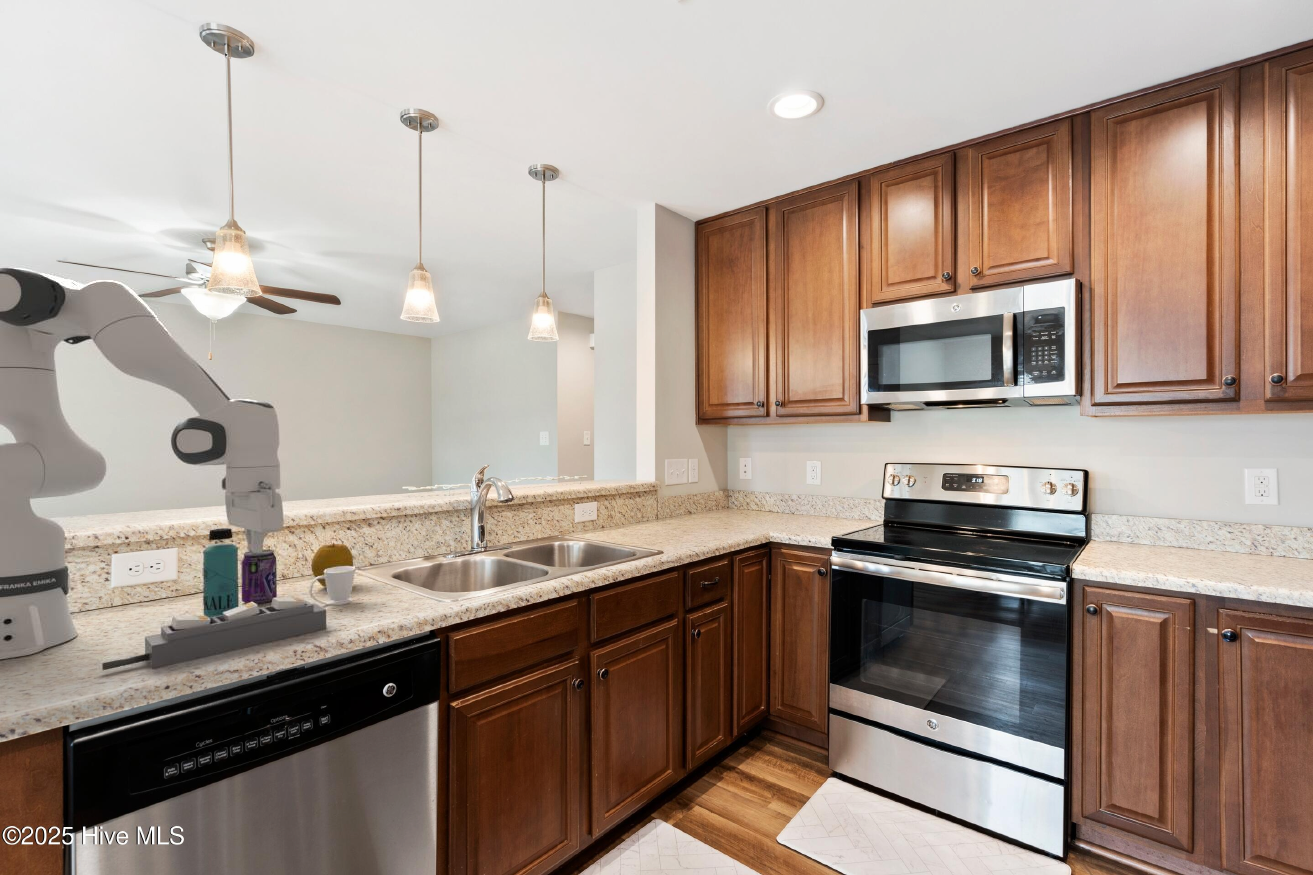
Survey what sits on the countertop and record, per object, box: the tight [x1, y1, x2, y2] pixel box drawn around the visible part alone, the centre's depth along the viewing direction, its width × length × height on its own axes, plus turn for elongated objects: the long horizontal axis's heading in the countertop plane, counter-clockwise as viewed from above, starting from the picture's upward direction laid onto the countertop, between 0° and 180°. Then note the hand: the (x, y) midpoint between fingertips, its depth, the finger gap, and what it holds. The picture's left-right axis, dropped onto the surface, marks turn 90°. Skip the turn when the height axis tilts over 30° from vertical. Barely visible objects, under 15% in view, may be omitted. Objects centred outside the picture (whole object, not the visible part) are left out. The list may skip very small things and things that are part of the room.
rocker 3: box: [270, 597, 307, 609], centre depth 123 cm, size 5×4×2 cm
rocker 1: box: [170, 615, 211, 629], centre depth 111 cm, size 5×4×2 cm
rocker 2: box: [223, 602, 260, 621], centre depth 117 cm, size 5×4×2 cm
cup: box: [308, 566, 356, 606], centre depth 143 cm, size 7×10×8 cm
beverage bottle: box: [202, 527, 240, 618], centre depth 131 cm, size 6×7×20 cm
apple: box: [310, 542, 354, 588], centre depth 159 cm, size 10×10×12 cm
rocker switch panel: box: [101, 599, 327, 671], centre depth 115 cm, size 34×7×5 cm, turn 138°
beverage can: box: [240, 549, 278, 605], centre depth 146 cm, size 7×7×12 cm
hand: (255, 551), depth 118 cm, fingers closed
